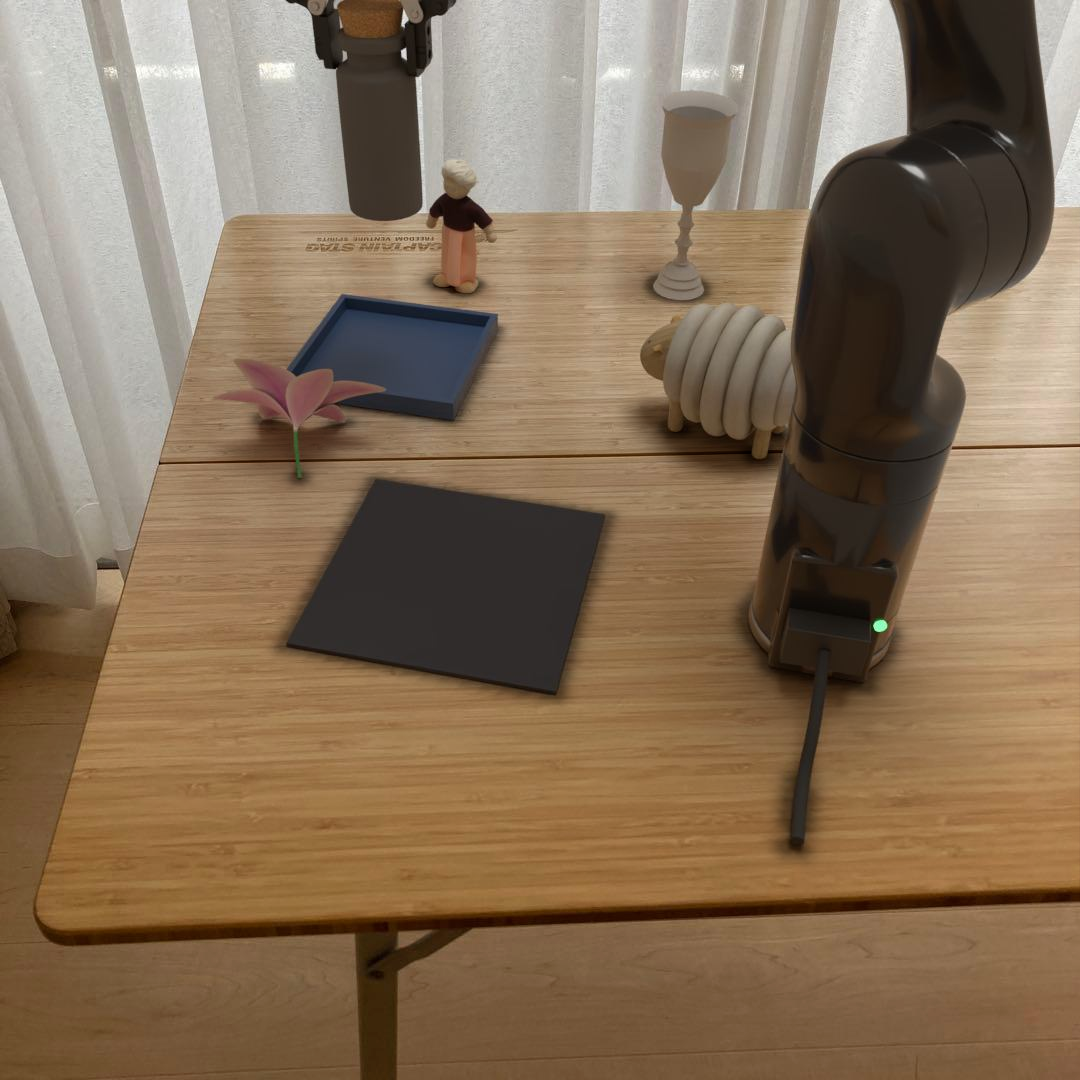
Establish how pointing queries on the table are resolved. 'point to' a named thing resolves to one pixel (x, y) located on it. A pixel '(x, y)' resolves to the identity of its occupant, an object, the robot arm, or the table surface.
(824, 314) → the robot arm
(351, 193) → the bottle
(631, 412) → the table surface
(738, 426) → the toy sheep
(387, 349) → the tray
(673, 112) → the chalice
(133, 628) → the table surface
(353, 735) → the table surface
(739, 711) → the table surface
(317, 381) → the lily
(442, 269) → the grandmother figurine
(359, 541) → the mat
